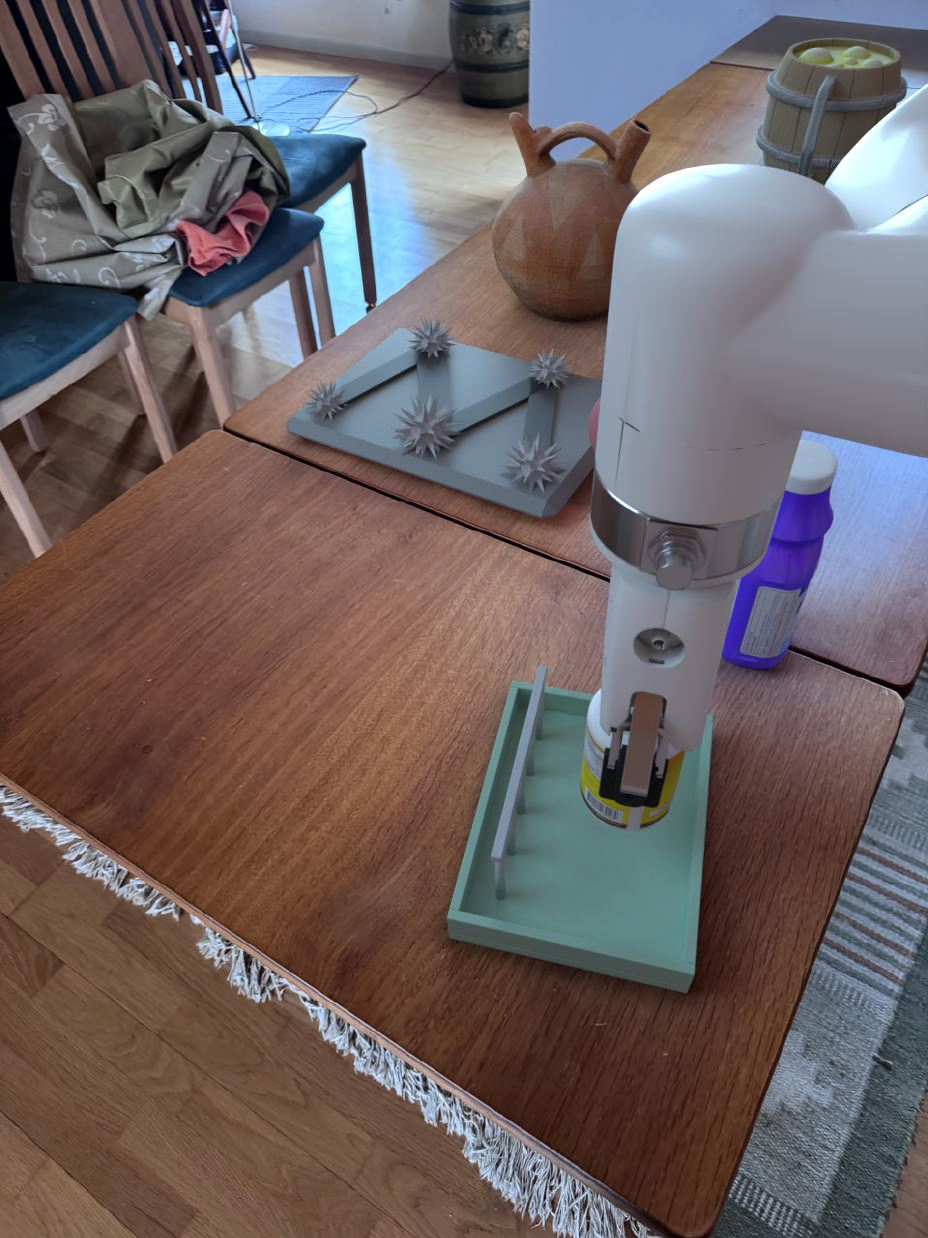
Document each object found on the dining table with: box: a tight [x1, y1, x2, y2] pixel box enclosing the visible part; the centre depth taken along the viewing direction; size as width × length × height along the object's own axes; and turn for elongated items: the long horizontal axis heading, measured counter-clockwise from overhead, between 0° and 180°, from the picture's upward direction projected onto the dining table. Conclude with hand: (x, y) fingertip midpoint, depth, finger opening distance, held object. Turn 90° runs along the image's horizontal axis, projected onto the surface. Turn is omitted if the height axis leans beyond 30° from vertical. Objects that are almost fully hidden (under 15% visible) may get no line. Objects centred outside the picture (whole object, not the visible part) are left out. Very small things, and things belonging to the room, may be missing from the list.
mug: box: [755, 37, 908, 186], centre depth 122 cm, size 19×25×15 cm
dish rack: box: [446, 664, 715, 994], centre depth 54 cm, size 14×18×7 cm
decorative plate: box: [285, 317, 602, 521], centre depth 86 cm, size 30×22×7 cm
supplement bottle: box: [580, 688, 686, 832], centre depth 49 cm, size 6×6×10 cm
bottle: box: [721, 439, 839, 670], centre depth 61 cm, size 7×6×17 cm
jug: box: [491, 111, 652, 323], centre depth 98 cm, size 18×18×20 cm
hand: (635, 748), depth 49 cm, fingers closed on supplement bottle, 5 cm apart
